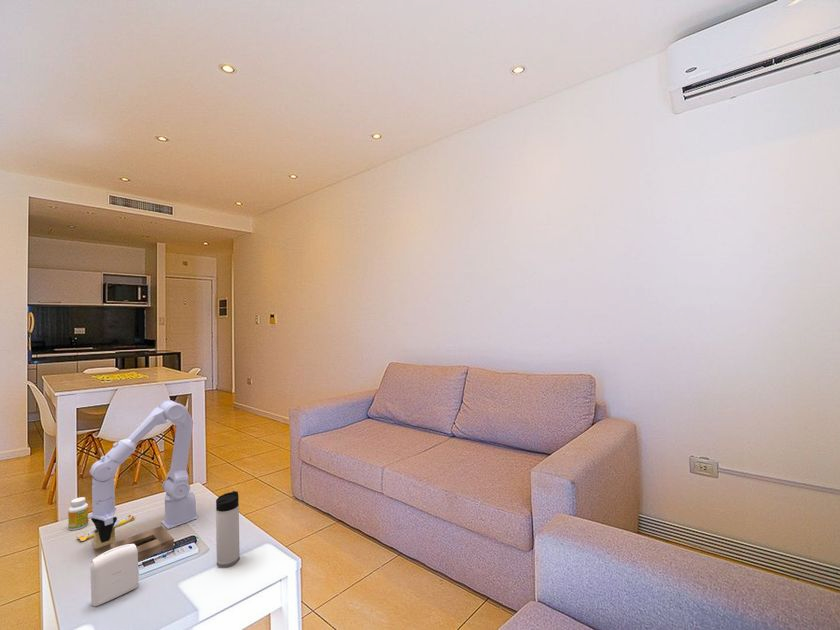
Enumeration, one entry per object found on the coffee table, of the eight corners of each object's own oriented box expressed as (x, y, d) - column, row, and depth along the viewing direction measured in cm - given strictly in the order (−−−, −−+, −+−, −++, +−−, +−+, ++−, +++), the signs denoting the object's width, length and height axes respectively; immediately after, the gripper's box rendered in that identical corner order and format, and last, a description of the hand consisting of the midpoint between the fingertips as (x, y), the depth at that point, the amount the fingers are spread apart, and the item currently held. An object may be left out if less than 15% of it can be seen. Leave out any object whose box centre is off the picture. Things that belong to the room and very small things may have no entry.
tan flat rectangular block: (113, 539, 130) (112, 524, 130) (114, 541, 128) (114, 526, 128) (93, 546, 126) (93, 530, 126) (95, 548, 125) (95, 533, 125)
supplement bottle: (76, 531, 138) (76, 503, 138) (64, 530, 139) (64, 502, 139) (92, 523, 143) (91, 496, 143) (80, 522, 144) (80, 495, 144)
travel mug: (245, 556, 121) (244, 492, 121) (228, 569, 115) (227, 501, 115) (229, 553, 123) (228, 489, 123) (211, 565, 117) (210, 499, 117)
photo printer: (92, 609, 100) (92, 561, 100) (89, 601, 103) (88, 554, 103) (140, 587, 108) (140, 543, 108) (136, 581, 111) (135, 537, 111)
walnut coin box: (161, 537, 133) (161, 525, 133) (174, 551, 125) (173, 538, 125) (110, 557, 122) (109, 544, 122) (119, 573, 114) (119, 559, 114)
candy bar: (130, 518, 147) (130, 513, 147) (136, 520, 145) (136, 515, 145) (75, 541, 132) (75, 535, 132) (81, 544, 130) (81, 539, 130)
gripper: (83, 495, 129) (84, 536, 129) (92, 509, 120) (93, 553, 120) (110, 488, 134) (110, 527, 134) (120, 500, 125) (121, 543, 125)
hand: (104, 539), depth 127 cm, fingers closed on tan flat rectangular block, 2 cm apart
